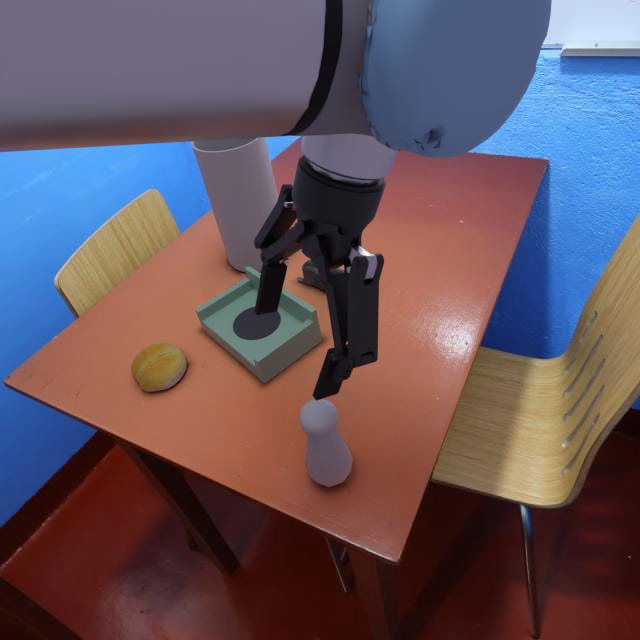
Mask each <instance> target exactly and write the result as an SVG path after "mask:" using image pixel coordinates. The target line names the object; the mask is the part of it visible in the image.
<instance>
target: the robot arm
mask: <svg viewBox="0 0 640 640" xmlns="http://www.w3.org/2000/svg"><path fill="white" fill-rule="evenodd" d="M551 14H552V0H0V153H10V152H13V153H14V152H29V151H31V152H32V151H45V150H46V151H48V150H65V149H81V148H82V149H83V148H84V149H85V148H99V147H116V146H117V147H119V146H133V145H134V146H135V145H136V146H137V145H153V144H155V145H156V144H172V143H188V142H191V143H192V141H208V140H226V139H244V138H261V137H266V138H276V137H277V138H279V137H302V139H301V142H300V143H301V144H300V149H301V153H302V156H300V157H299V158H298V161H297V165H296V170H295V175H294V180H293V183H284V184H282V185H281V188H280V191H279V194H278V201H277V203H276V205H275V206H274V208H273V210H272V211H271V213H270V215H269V216H268V218H267V220H266V221H265V223H264V225H263V226H262V228H261V229H260V231H259V233H258V234H257V236H256V238H255V240H254V245H255V248H256V249H260V250H261V254H260V258H261V261H262V262H263V264H262V269H261V272H260V273H261V274H260V284H259V289H258V294H257V299H256V305H255V310H254V312H255V313H256V315H261V314H266V313H271V312H276V311H277V310H278V306H279V302H280V297H281V293H282V289H283V288H284V284H285V280H286V275H287V271H288V268H289V267H288V265H287V264H286V263H285V262H283V261H288V260H290V258H289V257H291V256H293V255H294V254H296V253H297V252H299V251H301V253H302V254H303V255H304V256H305V257H306V258H308V259H309V260H311V261H312V263H313V265H314V266H315V267H316V268H317V269H318V275H319V281H320V283H321V284H323V285H324V286H325V290H326V291H325V290H324V291H325V295H326V304H327V308H328V309H327V310H328V316H329V322H330V329H331V335H332V341H333V342H332V343H333V347H331V348H327V351H326V354H325V357H324V360H323V363H322V366H321V369H320V372H319V374H318V378H317V381H316V383H315V386H314V389H313V391H312V398H313V399H315V400H316V401H317V400H320V399H326V398H330V397H332V396H336V395H338V394H339V392H340V389H341V388H342V384H343V383H344V382H345V381H346V380H348V379H350V378H351V376H352V372H353V370H354V369H357V368H359V367H363V366H366V365H370V364H373V363H377V361H378V357H379V307H380V305H379V304H380V280H381V275H382V272H383V269H384V265H385V258H384V255H383V254H382V253H379V252H378V253H370V252H368V250H366V249H364V248H363V247H362V239H363V237H362V236H363V232H364V230H366V228H367V227H368V225H370V224H371V223H372V221H373V220H374V219H375V217H376V216H377V212H378V209H379V206H380V203H381V201H382V197H383V194H384V191H385V189H386V186H387V181H386V180H385V178H386V177H387V176H388V175H389V174H390V172H391V169H392V167H393V164H394V160H395V158H396V155H397V153H398V152H403V151H404V152H408V153H411V154H414V155H418V156H421V157H425V158H429V159H449V158H450V159H451V158H456V157H458V156H461V155H463V154H467V153H468V152H470V151H472V150H474V149H475V148H478V147H479V146H480V145H481V144H483V143H485V142H486V141H487V140H489V139H490V138H491V137H492V136H493V135H495V134H496V133H497V132H498V131H499V130H500V129H501V127H502V126H503V125H504V124H505V123H506V122H507V121H508V119H509V118H510V117H511V116H512V114H513V113H514V111H515V110H516V109H517V107H518V106H519V104H520V103H521V102H522V99H523V98H524V96H525V95H526V93H527V91H528V89H529V87H530V85H531V83H532V81H533V78H534V76H535V74H536V72H537V63H538V60H539V57H540V54H541V51H542V46H543V44H544V42H545V40H546V38H547V37H548V32H549V27H550V22H551ZM296 220H297V222H296ZM282 260H283V261H282ZM280 261H282V262H281V263H280ZM342 266H343V268H344V269H343V270H344V272H343V273H340V274H331V272H330V270H331V269H337V268H339V269H340V268H341V267H342Z"/></svg>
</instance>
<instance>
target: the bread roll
mask: <svg viewBox="0 0 640 640" xmlns="http://www.w3.org/2000/svg"><path fill="white" fill-rule="evenodd" d="M187 365H188V363H187V357H186V355H185V354H184V352H183V351H181V350H180V349H179V348H178V347H176V346H175V345H173V344H170V343H167V342H158V343H157V342H155V343H152V344H150V345H148V346H146V347H144V348H143V349H142V350H140V351H139V352H138V353H137V354H136V355H135V357H134V358H133V360H132V363H131V365H130V371H131V374H132V376H133V378H134V379H135V380H136V381H137V382H138V386H139V387H140V389H142V390H143V391H145V392H150V393H151V392H157V391H162V390H168V389H170V388H172V387H173V386H175V385H176V384H177V383H178V382H179V381H180V380H181V379H182V378H183V376H184V374H185V373H186V370H187V367H188V366H187Z"/></svg>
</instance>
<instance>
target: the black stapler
mask: <svg viewBox="0 0 640 640" xmlns="http://www.w3.org/2000/svg"><path fill="white" fill-rule="evenodd" d="M301 271H302V276H303V278H302V277H297V278H296V280H297V282H301V283H304V284H307V285H311V286H313V287H314V288H318V289H320V290H322V291H325V292H326V290H325V286H324V285H323V284H321V283H320V281H319V275H318V269H317V268H316V267H315V266H314V265H313V263H312V261H311V259H308V260H306V261H305V262H304V263H303V265H302V266H301ZM330 272H331V274H340V273H343V272H344V269H341V268H340V267H339V268H337V269H331V270H330Z"/></svg>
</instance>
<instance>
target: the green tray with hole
mask: <svg viewBox="0 0 640 640" xmlns="http://www.w3.org/2000/svg"><path fill="white" fill-rule="evenodd" d="M244 273H245V276H246V277H245V278H244V279H242V280H240V281H239V282H237V283H235V284H234V285H232V286H230V287H229V288H226V289H225V290H224V291H222V292H220V293H219V294H217V295H216V296H214V297H212V298H211V299H210V300H208V301H206V302H204V303H203V304H201V305H199V306H198V307H196V308H195V309H194V311H195V313H196V316H197V318H198V321H199V323H200V325H201V328H202V331H204V332H205V333H206V335H208V336H209V337H211V338H212V340H214V341H215V342H216V343H218V344H219V345H220V346H221V347H222V348H223V349H224V350H225V351H227V352H228V353H229V354H230V355H231V356H232V357H233V358H235V359H236V360H237V361H238V362H240V364H242V365H243V366H244V367H245V368H246V369H247V370H249V371H250V373H251V374H253V375H254V376H255V377H256V378H258V379H259V380H260V381H261V382H262V383H263V384H267V383H268V382H269V381H270V380H272V379H273V378H275V377H276V376H277V375H279V374H281V372H282V371H284V370H285V369H287V368H288V367H289V366H291V365H293V363H295V362H296V361H297V360H298V359H300V358H301V357H303V356H304V355H305V354H306V353H308V352H309V351H310V350H312V349H313V348H314V347H316V346H318V344H320V343H321V342H323V337H322V332H321V327H320V322H319V317H318V310H317V309H316V308H315V307H314V306H312V305H310V304H309V303H308V302H306V301H304V300H303V299H301V298H300V297H298V296H297V295H295V294H293V293H292V292H290V291H289V290H288V289H286V288H284V287H283V289H282V293H281V297H280V302H279V306H278V310H277V311H276V312H271V313H266V314H261V315H256V313H255V312H254V310H255V305H256V299H257V294H258V289H259V284H260V274H261V272H258V271H256V270H255V269H253V268H252V267H250V266H247V267H246V268H245V272H244Z"/></svg>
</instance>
